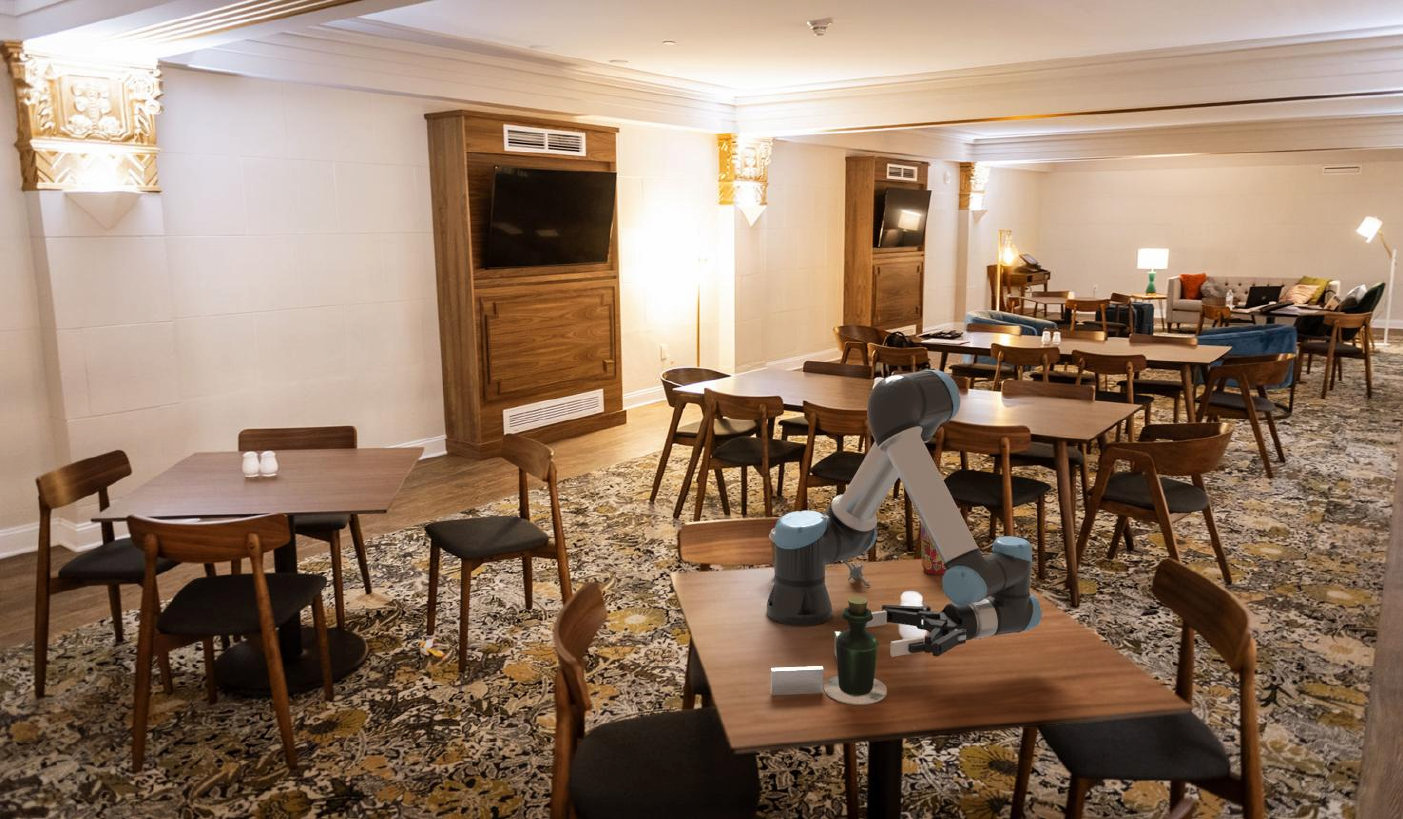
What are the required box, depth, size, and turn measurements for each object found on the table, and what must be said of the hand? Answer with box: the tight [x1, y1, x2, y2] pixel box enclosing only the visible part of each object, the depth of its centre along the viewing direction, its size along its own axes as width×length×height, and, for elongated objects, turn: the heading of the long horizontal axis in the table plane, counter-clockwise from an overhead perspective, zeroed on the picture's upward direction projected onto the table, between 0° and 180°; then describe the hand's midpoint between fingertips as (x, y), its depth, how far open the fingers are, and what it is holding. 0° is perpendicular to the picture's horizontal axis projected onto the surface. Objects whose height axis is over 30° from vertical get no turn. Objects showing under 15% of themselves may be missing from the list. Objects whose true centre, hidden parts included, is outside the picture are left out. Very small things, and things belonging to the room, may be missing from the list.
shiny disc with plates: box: [770, 631, 888, 706], centre depth 189 cm, size 19×24×5 cm
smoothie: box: [920, 519, 946, 576], centre depth 250 cm, size 8×8×20 cm
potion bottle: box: [836, 595, 879, 695], centre depth 185 cm, size 8×8×18 cm
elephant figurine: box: [841, 558, 871, 587], centre depth 245 cm, size 10×6×9 cm
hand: (873, 634), depth 186 cm, fingers open, 13 cm apart
